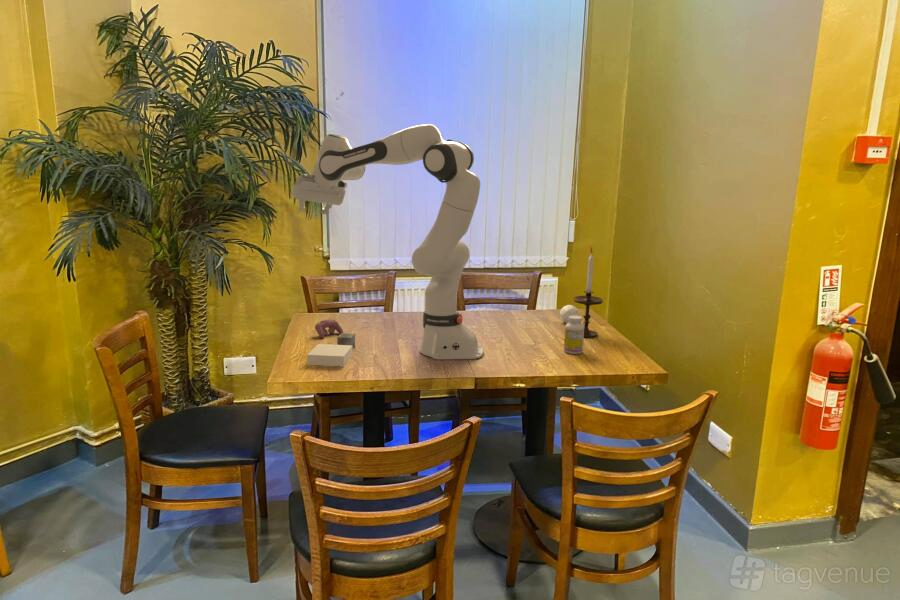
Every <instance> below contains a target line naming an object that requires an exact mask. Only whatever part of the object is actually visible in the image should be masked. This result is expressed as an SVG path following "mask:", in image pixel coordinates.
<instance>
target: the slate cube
mask: <svg viewBox="0 0 900 600" xmlns="http://www.w3.org/2000/svg"><path fill="white" fill-rule="evenodd" d="M336 340H337V341H336V342H337V344H336V345H353V350H355V348H356V334H355V333H344V332H343V333H341V334H340V333H339V335H338V336H337V337H336Z"/></svg>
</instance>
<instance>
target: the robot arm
mask: <svg viewBox="0 0 900 600" xmlns="http://www.w3.org/2000/svg"><path fill="white" fill-rule="evenodd" d="M319 147H320V148H319V150H318V152H317V161H316V162H315V163H314V166H313V170H312V172H311V174H306V173H302V174H300V175H298V176H297V178H296V180H295V181H296V182H295V184H294V186H293V188H292V190H291V195H292V197H293V198H294V199H295V200H298V203H299V208H298V210H299V211H300V212H302V213H305V212H306V209H307V207H306V206H305V205H304V204H305V203H306V201H307V202H313V203H320V204H326V205H325V207H322V208H321V211H320V213H321V214H322V215H325V216H327V213H328V211H330V209H331V208H332V207H333V205H334V206H341V205H342V204H343V202H344V200H345V194H346V189H347V187H348V183H347V182H346V181H358V180H359V179H361V178H363V176H364V175H365V172H366V166H367V165H373V164H375V165H377V164H379V165H380V164H383V165H391V166H393V165H395V166H400V165H401V166H402V165H408V164H409V165H410V164H412V163H415V162H419V161H421V160H422V164H423V167H424V169H425V170H426V172H428V174H430V175H431V176H433V177H434V178H436V179H437V180H438V181H439V182H440V183H445V185H446V186H445V187H446V189H445V192H444V195H443V199H442V202H441V204H440V208H439V210H438V213H437V217H436V219H435V221H434V223H433V224H432V225H433V226H432V227H431V229H430V230H429V232H428V234H427V235H426V236H425V238H424V240H423V241H422V242H421V244H420V245H419V246H418V247H417V248H415V250H414V251H413V253H412V256H411V264H412V268H413V269H414V270H415V272H416V273H418V274H419V275H421V276H429V277H431V278H430V281H429V283H428V284H427V286H426V288H425V290H424V312H423V314H422V325H423V333H422V334H423V335H422V341H421V344H420V348H419V353H421V354H422V355H423V356H427V357H430V358H431V359H434V360H478V359H480V358H482V357H483V356H484V352H485V351H484V347H483V346H482V345H480V344H478V343H479V341H478V338H477V335H476V334H475V332H474V331H473V330H471V328H469V327H467V326H466V325H465V324H463V319H464V318H463V315H462V313H459V312H458V311H457V305H458V304H457V303H458V302H457V301H458V298H457V297H458V289H459V284H460V280H461V277H462V274H463V270H464V268H465V267H466V265H467V263H468V262H469V259H470V255H471V254H470V250H469V247H468V245H467V243H465V242H464V241H462V240H461V239H462V238H463V237H464V236H466V234H467V232H468V231H469V228H470V225H471V223H472V222H471V221H472V219H473V217H474V213H475V210H476V207H477V205H478V201H479V196H480V190H481V181H480V178H479V177H478V176H477V175H476V174H475V173H473V172H471V171H469V170H470V169H471V168H472V166H473V164H474V160H475V158H474V157H475V156H474V153H473V150H472V148H471V147H470V146H468V145H467V144H465V143H463V142H460V141H456V140H453V139H447V140H444V139H443V137H442V135H441V132H440V130H439V129H438V127H436V126H435V125H434V124H430V123H429V124H428V123H427V124H420V125H419V124H418V125H415V126H410V127H406V128H405V129H402V130H399V131H396V132H394V133H391V134H390V135H387V136H385V137H383V138H379V139H377V140H375V141H372V142H370V143H367V144H364V145H360V146H357V147H352V146H351V145H350V142H349V139H348V138H347V137H345V136H343V135H338V134H335V133H334V134H331V133H330V134H327V135H326V136H325V137H324V138H323V141H322V142H321V145H320V146H319ZM477 358H478V359H477Z"/></svg>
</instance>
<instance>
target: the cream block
mask: <svg viewBox="0 0 900 600" xmlns="http://www.w3.org/2000/svg"><path fill="white" fill-rule="evenodd" d="M353 350H354V349H353V345H337V344H328V343H317V344H316V345H315V346H314V347H313V348H312V349H311V351H309V352H308V354H306V355H307V356H306V357H307V359H306V361H307V366H313V365H323V366H322V367H333V366H340V367H339V368H344V367H345V366H346V365H347V364H346V363H349V361H350V360H351V359H352V357H353V355H354V354H353ZM349 359H350V360H349ZM345 364H346V365H345Z"/></svg>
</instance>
